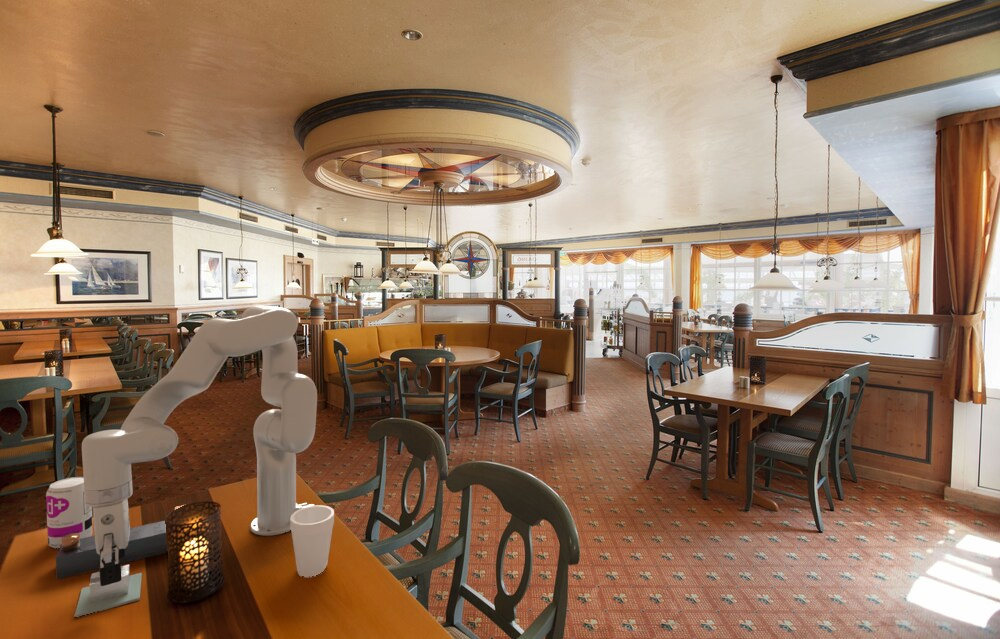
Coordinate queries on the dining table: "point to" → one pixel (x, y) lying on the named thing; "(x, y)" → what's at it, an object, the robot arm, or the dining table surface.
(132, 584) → the mat
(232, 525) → the dining table surface
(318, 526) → the foam cup
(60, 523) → the supplement can
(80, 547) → the hand plane
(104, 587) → the lever cap
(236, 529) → the dining table surface
